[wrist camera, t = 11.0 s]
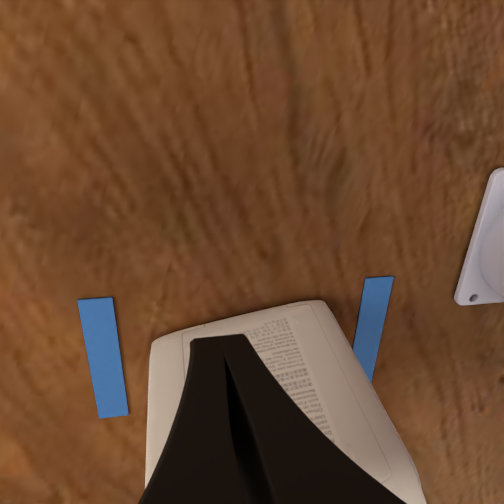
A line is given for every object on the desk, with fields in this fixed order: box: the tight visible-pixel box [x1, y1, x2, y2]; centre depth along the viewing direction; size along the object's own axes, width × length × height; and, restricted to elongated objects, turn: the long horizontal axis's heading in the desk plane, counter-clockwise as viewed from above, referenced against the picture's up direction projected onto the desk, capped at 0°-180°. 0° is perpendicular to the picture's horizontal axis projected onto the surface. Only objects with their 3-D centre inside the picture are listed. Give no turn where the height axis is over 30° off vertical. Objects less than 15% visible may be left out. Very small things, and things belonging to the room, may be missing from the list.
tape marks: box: [77, 276, 394, 418], centre depth 25 cm, size 16×8×1 cm, turn 88°
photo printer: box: [145, 300, 426, 504], centre depth 19 cm, size 10×4×12 cm, turn 100°
